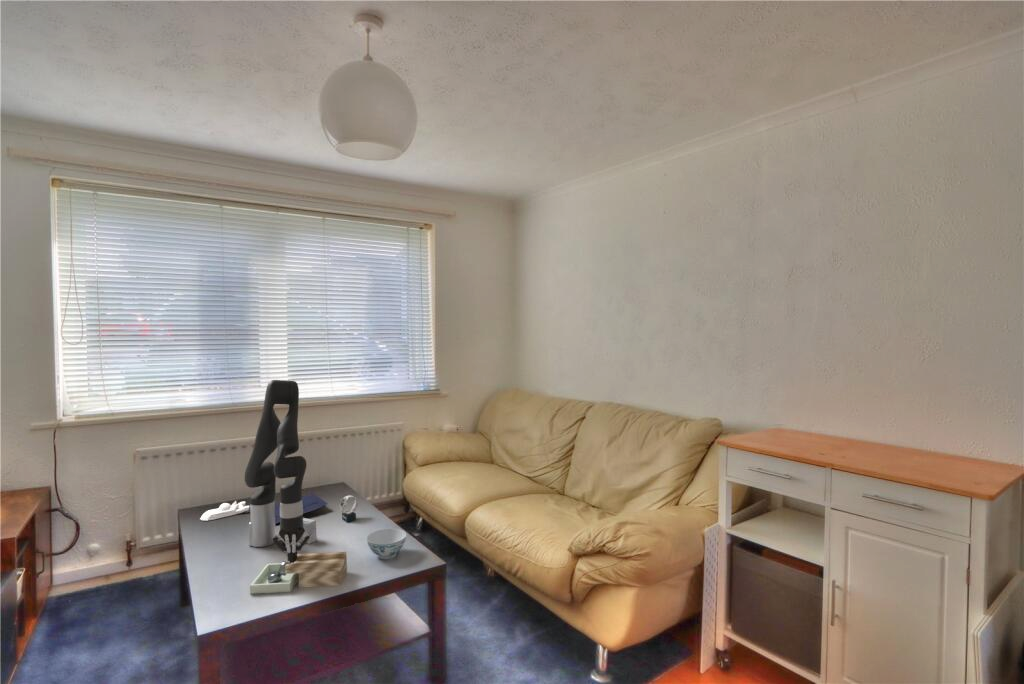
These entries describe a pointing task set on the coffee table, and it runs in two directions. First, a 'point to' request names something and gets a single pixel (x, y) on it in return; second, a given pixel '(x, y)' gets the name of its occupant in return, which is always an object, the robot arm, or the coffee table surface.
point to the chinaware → (386, 542)
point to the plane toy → (225, 511)
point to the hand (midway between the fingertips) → (292, 561)
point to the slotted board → (319, 568)
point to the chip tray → (263, 586)
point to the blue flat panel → (308, 503)
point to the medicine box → (309, 530)
